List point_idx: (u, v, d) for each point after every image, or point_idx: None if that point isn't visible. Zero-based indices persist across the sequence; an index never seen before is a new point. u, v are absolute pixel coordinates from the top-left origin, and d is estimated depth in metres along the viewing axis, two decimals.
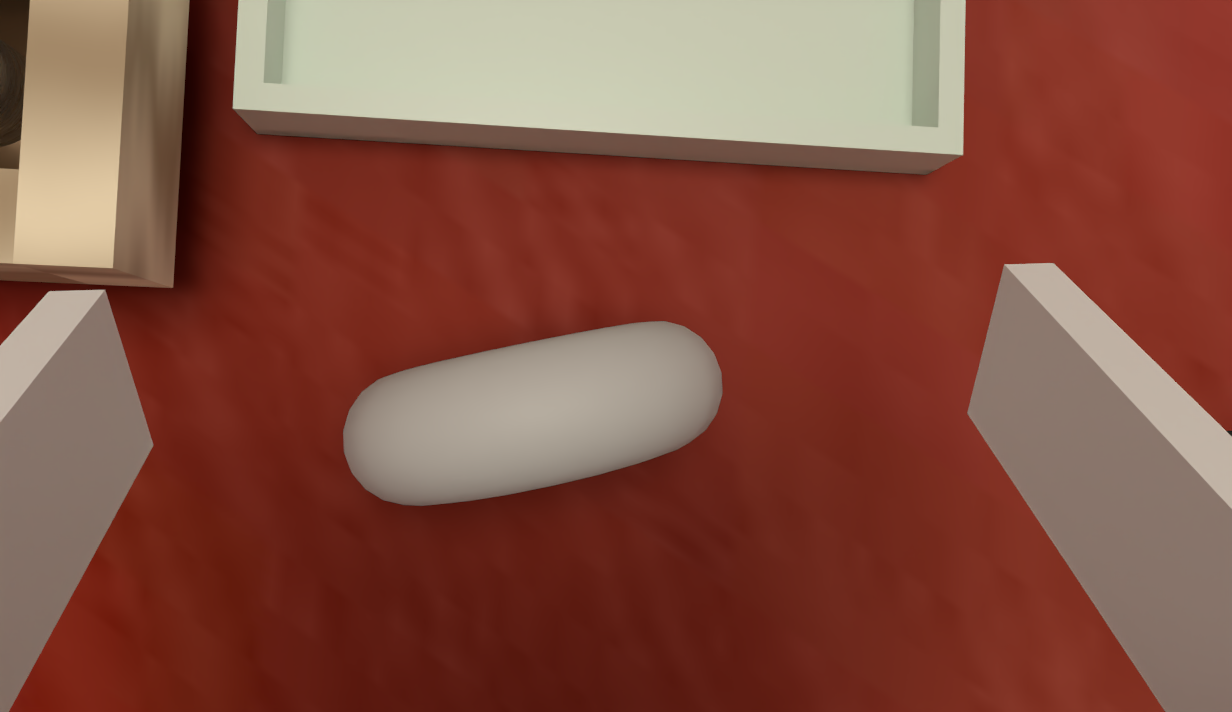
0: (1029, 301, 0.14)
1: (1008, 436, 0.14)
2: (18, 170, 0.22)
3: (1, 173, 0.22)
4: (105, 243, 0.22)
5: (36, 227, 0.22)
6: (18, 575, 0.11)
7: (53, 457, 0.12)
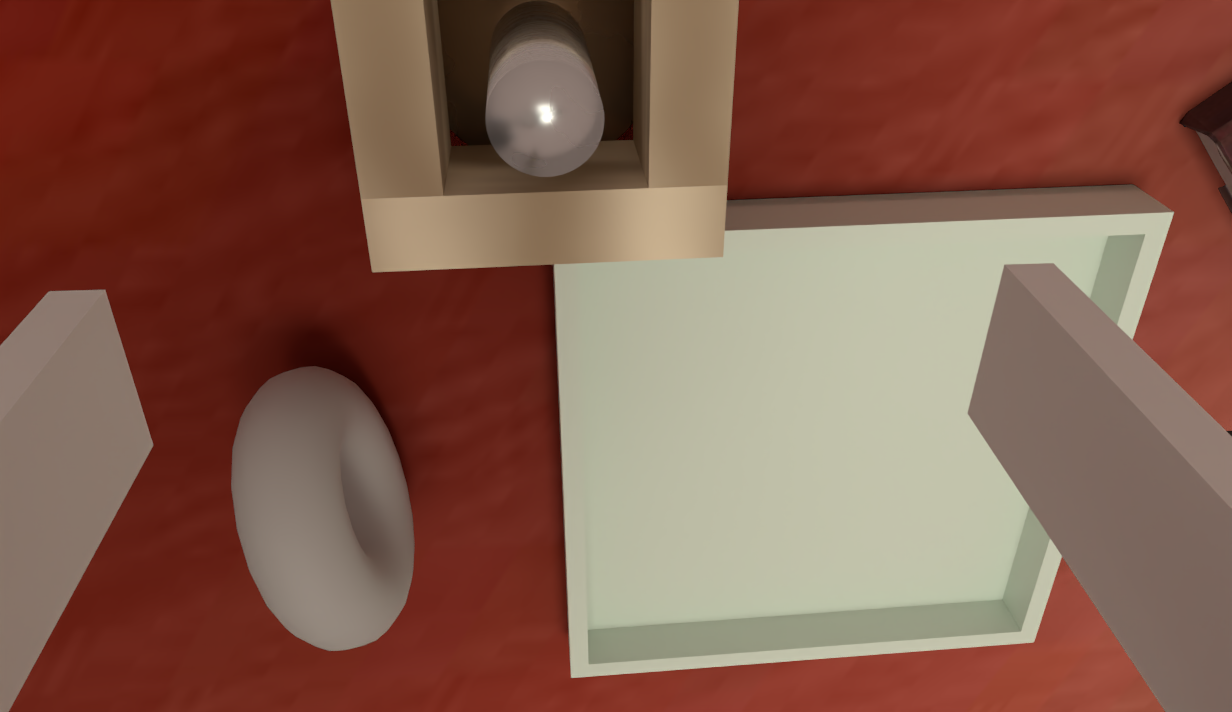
0: (1029, 301, 0.14)
1: (1008, 436, 0.14)
2: (442, 194, 0.26)
3: (437, 184, 0.26)
4: (391, 265, 0.27)
5: (395, 213, 0.26)
6: (18, 575, 0.11)
7: (51, 457, 0.12)
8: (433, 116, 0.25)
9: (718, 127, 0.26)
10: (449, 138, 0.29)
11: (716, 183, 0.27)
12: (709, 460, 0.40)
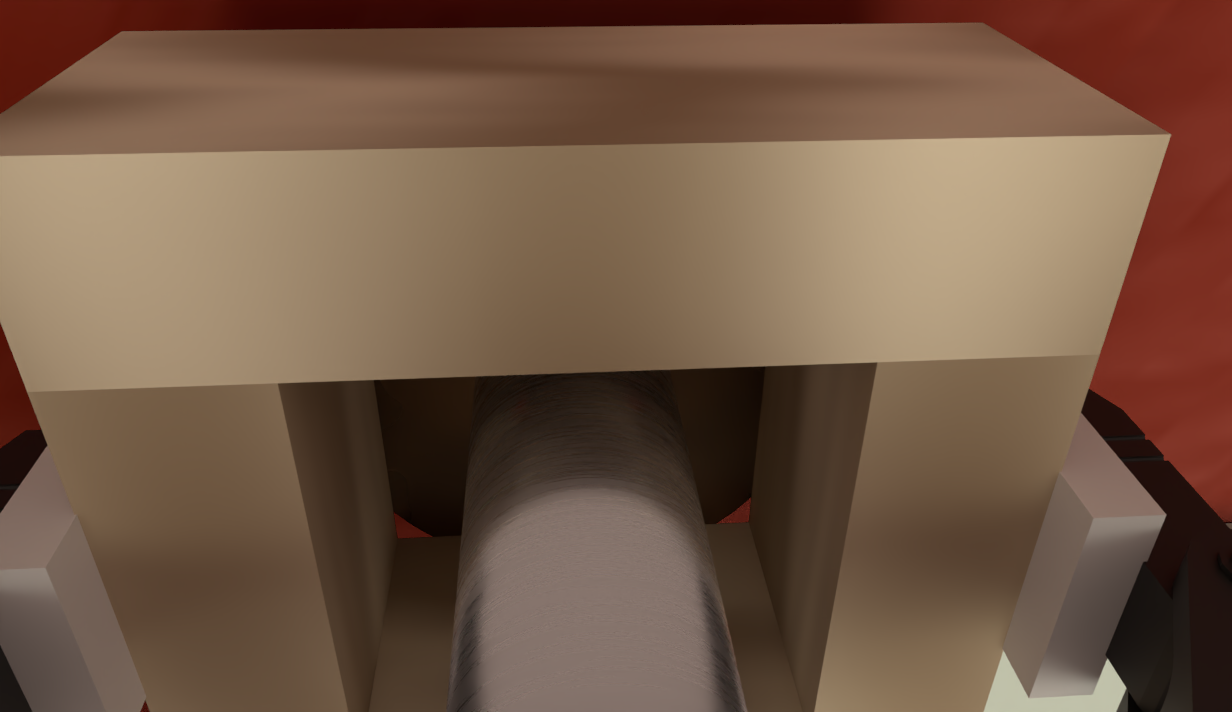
0: None
1: None
2: None
3: None
4: None
5: None
6: None
7: None
8: (329, 640, 0.11)
9: (980, 638, 0.11)
10: (392, 537, 0.15)
11: None
12: None
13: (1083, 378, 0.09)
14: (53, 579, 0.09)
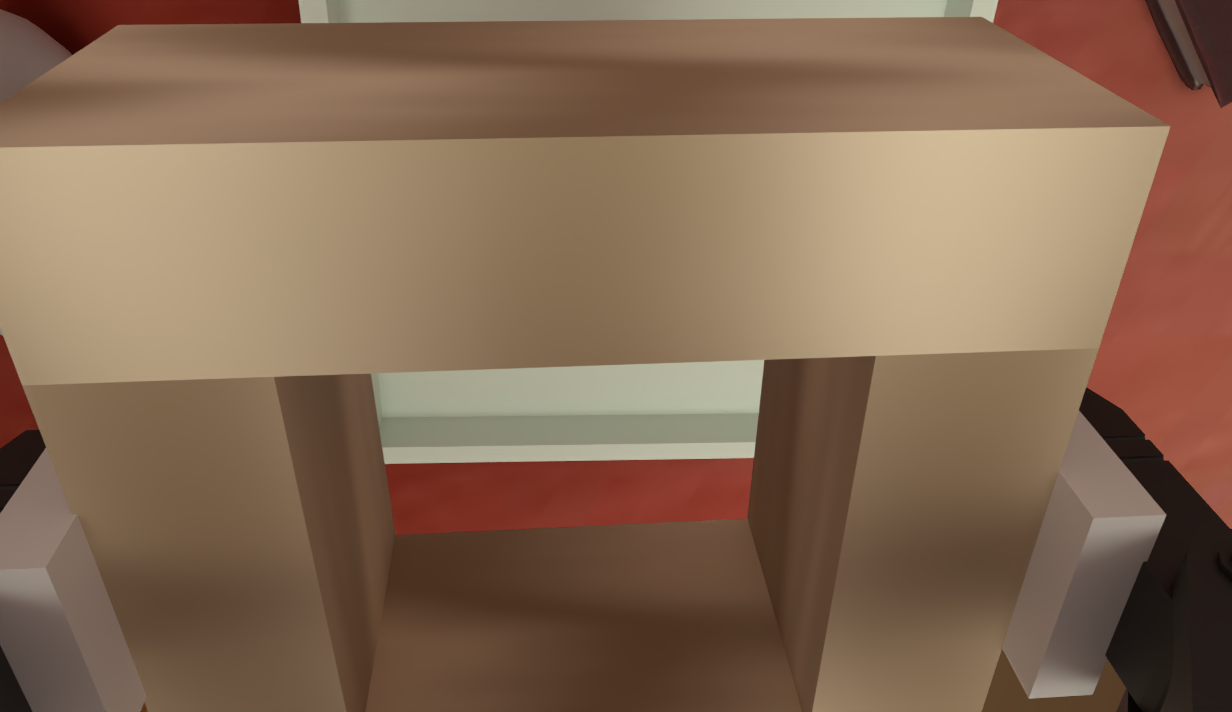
0: None
1: None
2: None
3: None
4: None
5: None
6: None
7: None
8: (326, 635, 0.11)
9: (979, 634, 0.11)
10: (390, 533, 0.15)
11: None
12: None
13: (1082, 372, 0.09)
14: (53, 578, 0.09)
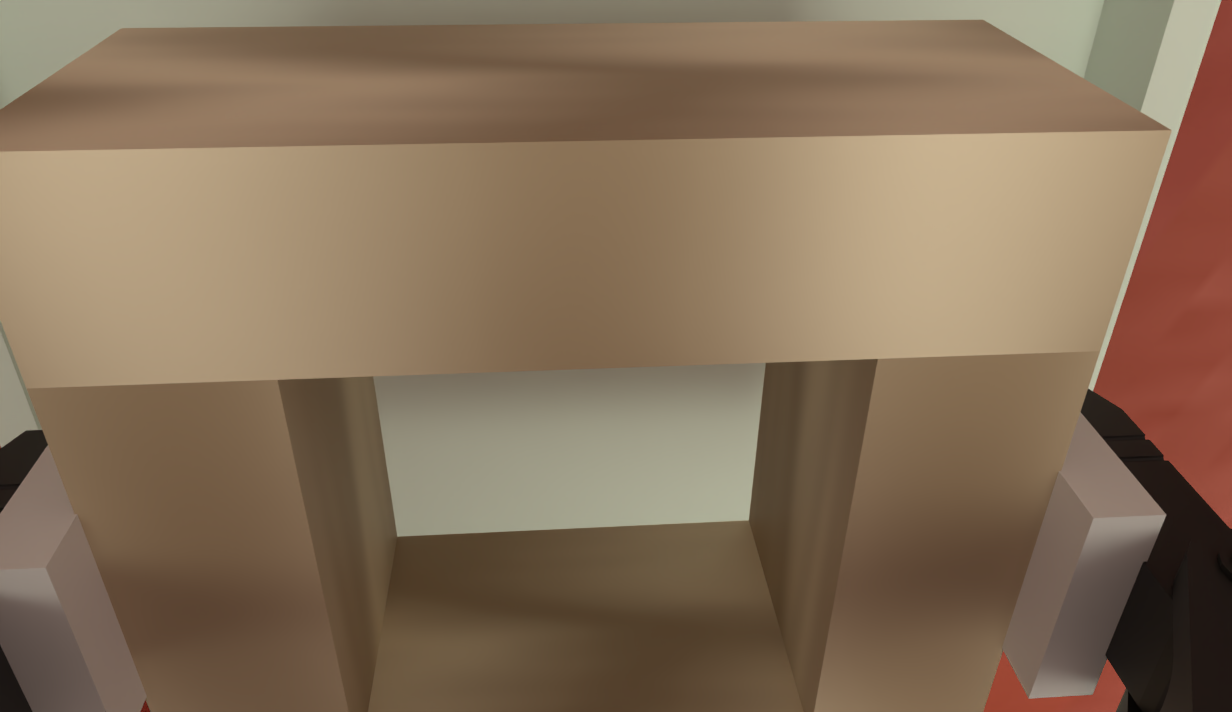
0: None
1: None
2: None
3: None
4: None
5: None
6: None
7: None
8: (329, 636, 0.11)
9: (980, 635, 0.11)
10: (391, 535, 0.15)
11: None
12: None
13: (1083, 375, 0.09)
14: (53, 579, 0.09)
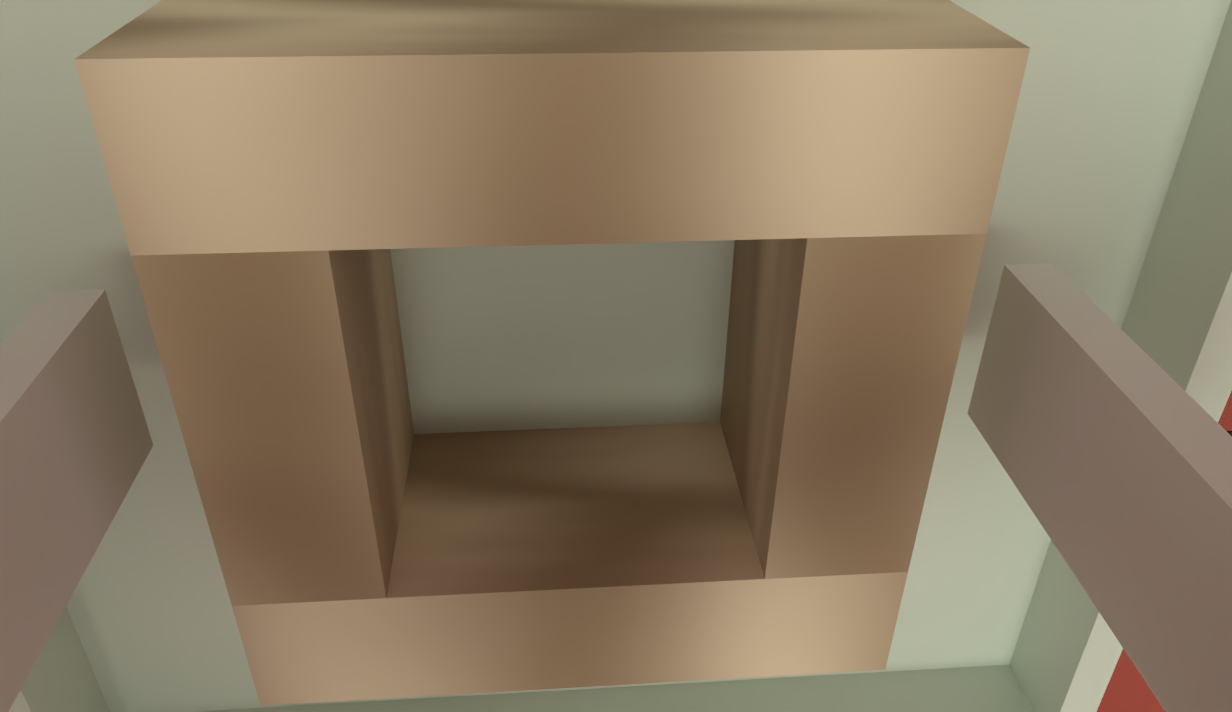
0: (1029, 301, 0.14)
1: (1008, 436, 0.14)
2: (384, 595, 0.14)
3: (374, 582, 0.14)
4: (295, 696, 0.15)
5: (298, 625, 0.14)
6: (18, 575, 0.11)
7: (53, 457, 0.12)
8: (364, 480, 0.13)
9: (904, 488, 0.14)
10: (409, 429, 0.17)
11: (888, 569, 0.14)
12: None
13: (974, 254, 0.12)
14: None
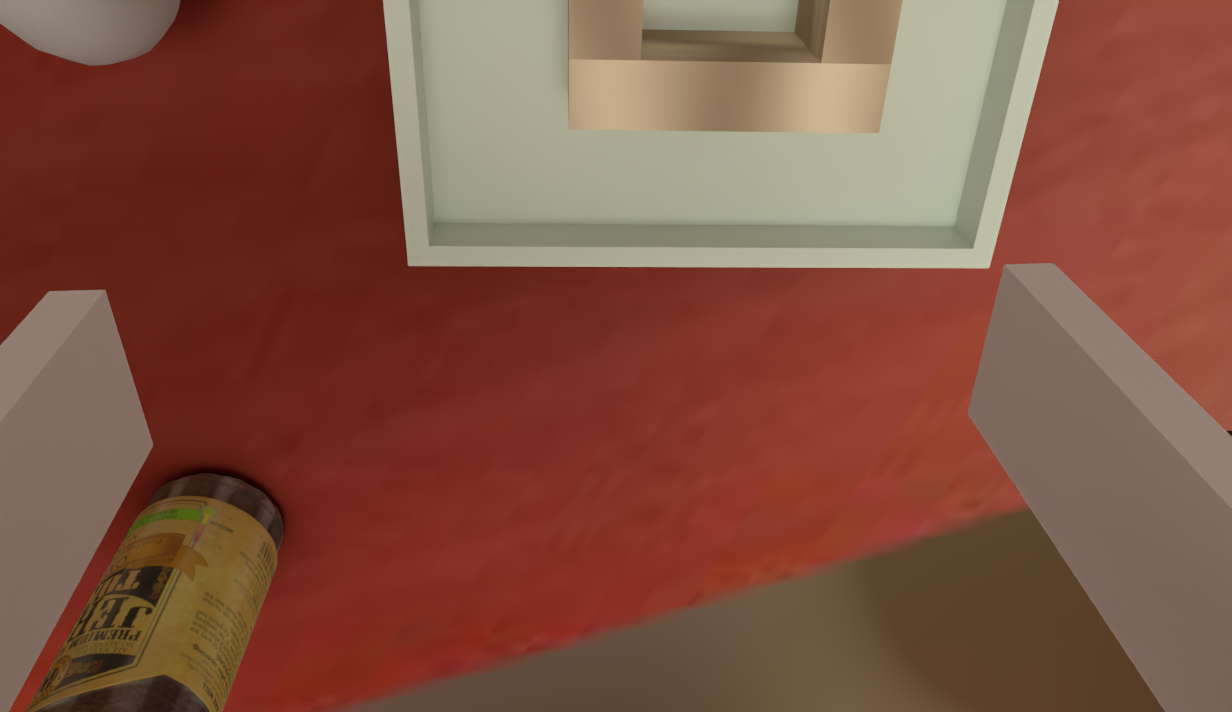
0: (1029, 301, 0.14)
1: (1008, 436, 0.14)
2: (640, 59, 0.29)
3: (637, 48, 0.29)
4: (586, 124, 0.30)
5: (597, 74, 0.30)
6: (18, 575, 0.11)
7: (53, 457, 0.12)
8: None
9: (890, 8, 0.29)
10: None
11: (881, 62, 0.30)
12: None
13: None
14: None
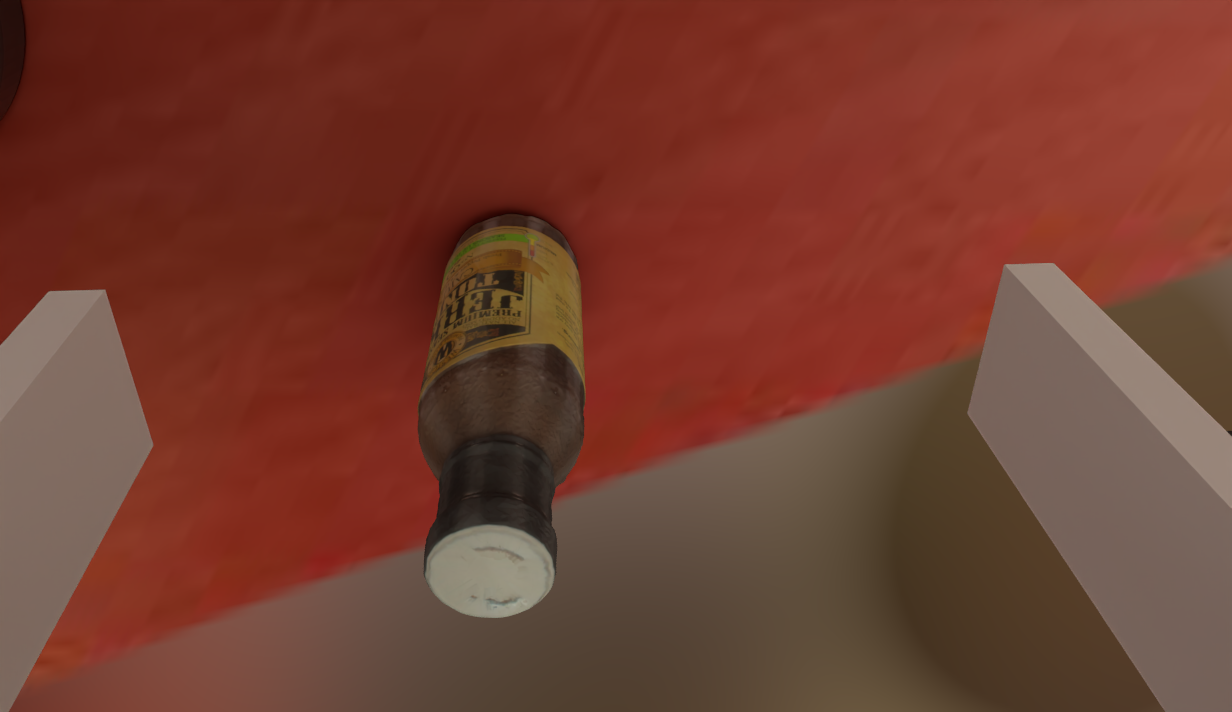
0: (1029, 301, 0.14)
1: (1008, 436, 0.14)
2: None
3: None
4: None
5: None
6: (18, 575, 0.11)
7: (53, 457, 0.12)
8: None
9: None
10: None
11: None
12: None
13: None
14: None
